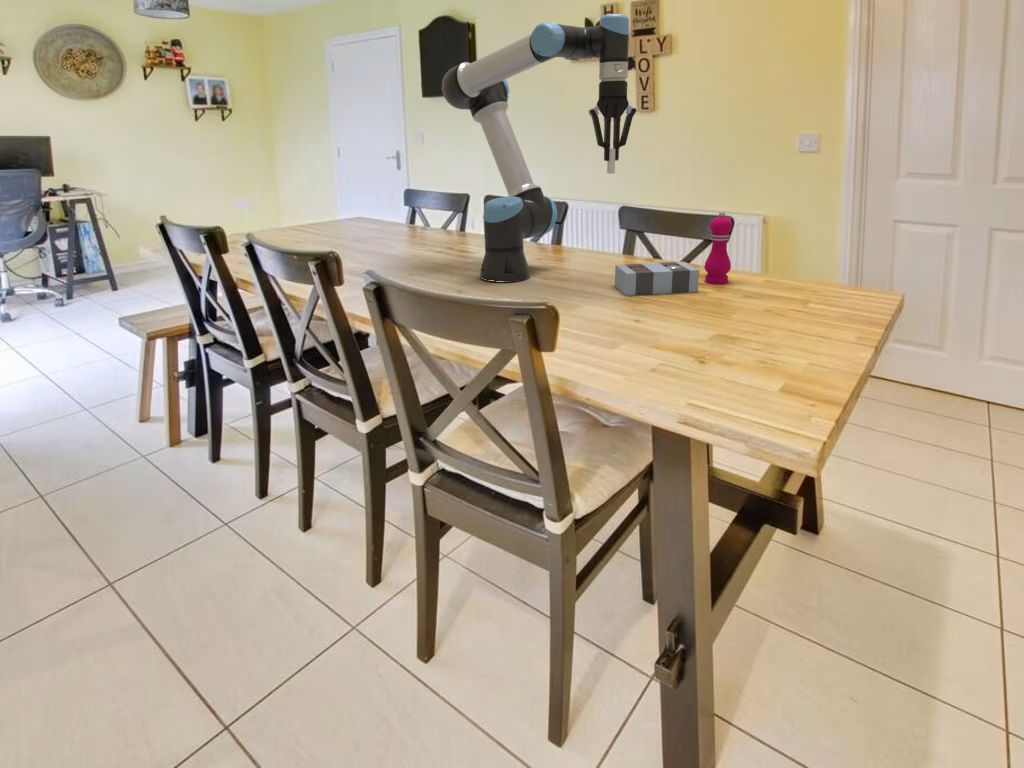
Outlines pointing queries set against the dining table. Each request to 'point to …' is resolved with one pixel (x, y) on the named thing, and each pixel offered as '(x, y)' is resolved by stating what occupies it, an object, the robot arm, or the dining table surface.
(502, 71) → the robot arm
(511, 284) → the dining table surface
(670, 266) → the grey metal peg
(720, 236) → the pepper mill
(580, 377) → the dining table surface
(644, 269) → the walnut peg
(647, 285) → the socket block
